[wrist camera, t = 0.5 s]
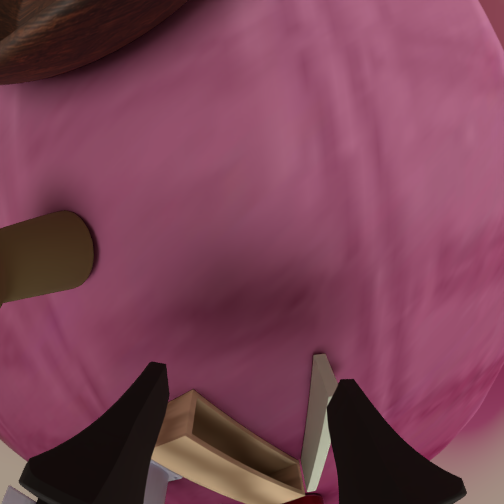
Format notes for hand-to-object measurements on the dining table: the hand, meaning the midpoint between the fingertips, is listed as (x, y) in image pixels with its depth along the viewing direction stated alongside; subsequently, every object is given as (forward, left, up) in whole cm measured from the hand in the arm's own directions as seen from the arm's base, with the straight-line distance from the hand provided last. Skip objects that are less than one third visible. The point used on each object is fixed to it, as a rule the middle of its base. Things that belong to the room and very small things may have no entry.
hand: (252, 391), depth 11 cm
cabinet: (-13, -14, -10) cm, 22 cm away
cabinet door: (-4, -16, -10) cm, 19 cm away
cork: (-9, +11, -10) cm, 17 cm away
